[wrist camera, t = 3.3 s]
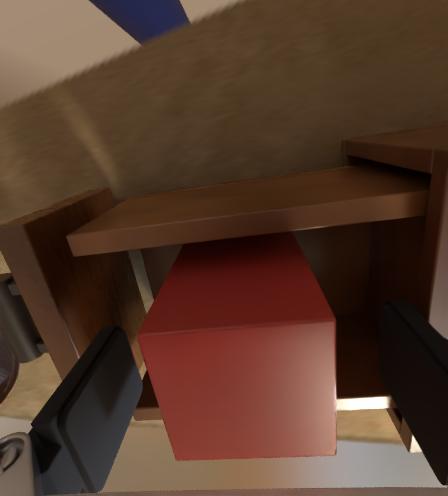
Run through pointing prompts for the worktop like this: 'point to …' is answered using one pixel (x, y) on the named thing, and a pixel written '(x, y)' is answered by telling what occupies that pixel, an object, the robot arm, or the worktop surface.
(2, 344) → the tin
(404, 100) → the worktop surface
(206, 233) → the drawer
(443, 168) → the cabinet
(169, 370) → the card box
